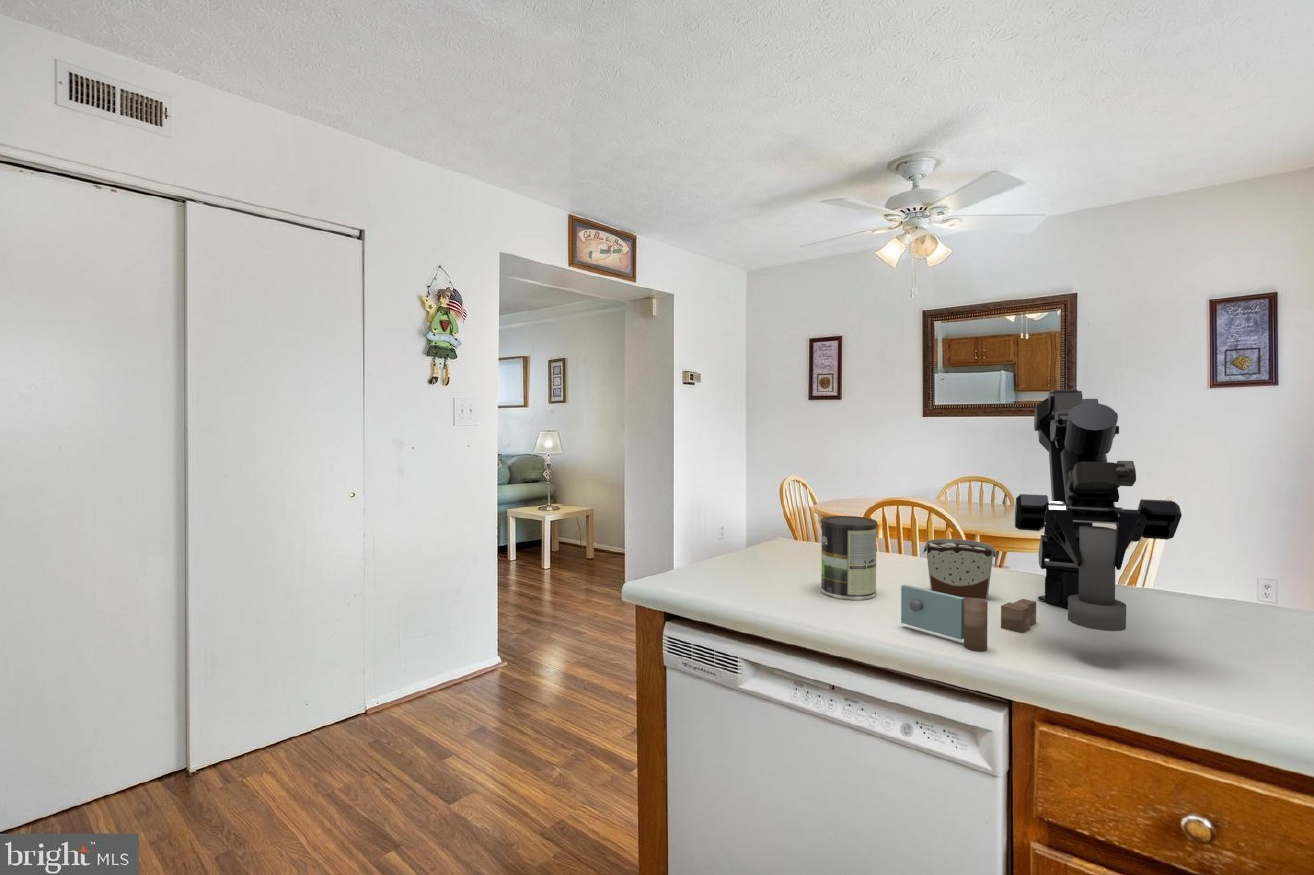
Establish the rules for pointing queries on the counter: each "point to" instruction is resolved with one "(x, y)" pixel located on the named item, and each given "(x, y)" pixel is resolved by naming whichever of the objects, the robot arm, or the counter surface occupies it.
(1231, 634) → the counter surface
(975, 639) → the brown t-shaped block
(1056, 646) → the counter surface
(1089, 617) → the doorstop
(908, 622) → the door
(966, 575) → the food container
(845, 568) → the coffee can
